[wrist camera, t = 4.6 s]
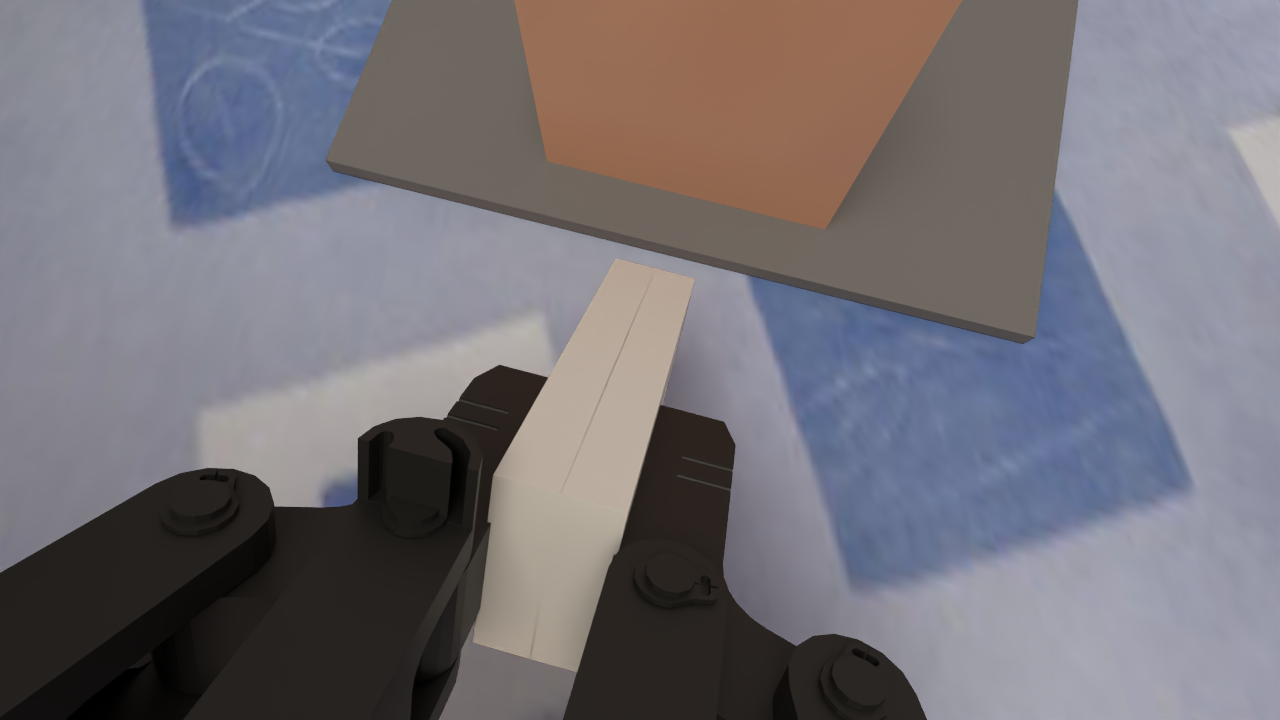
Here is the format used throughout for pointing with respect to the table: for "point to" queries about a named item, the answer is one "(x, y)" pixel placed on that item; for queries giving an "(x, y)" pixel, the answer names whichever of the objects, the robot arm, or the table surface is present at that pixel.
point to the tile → (726, 92)
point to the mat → (739, 239)
